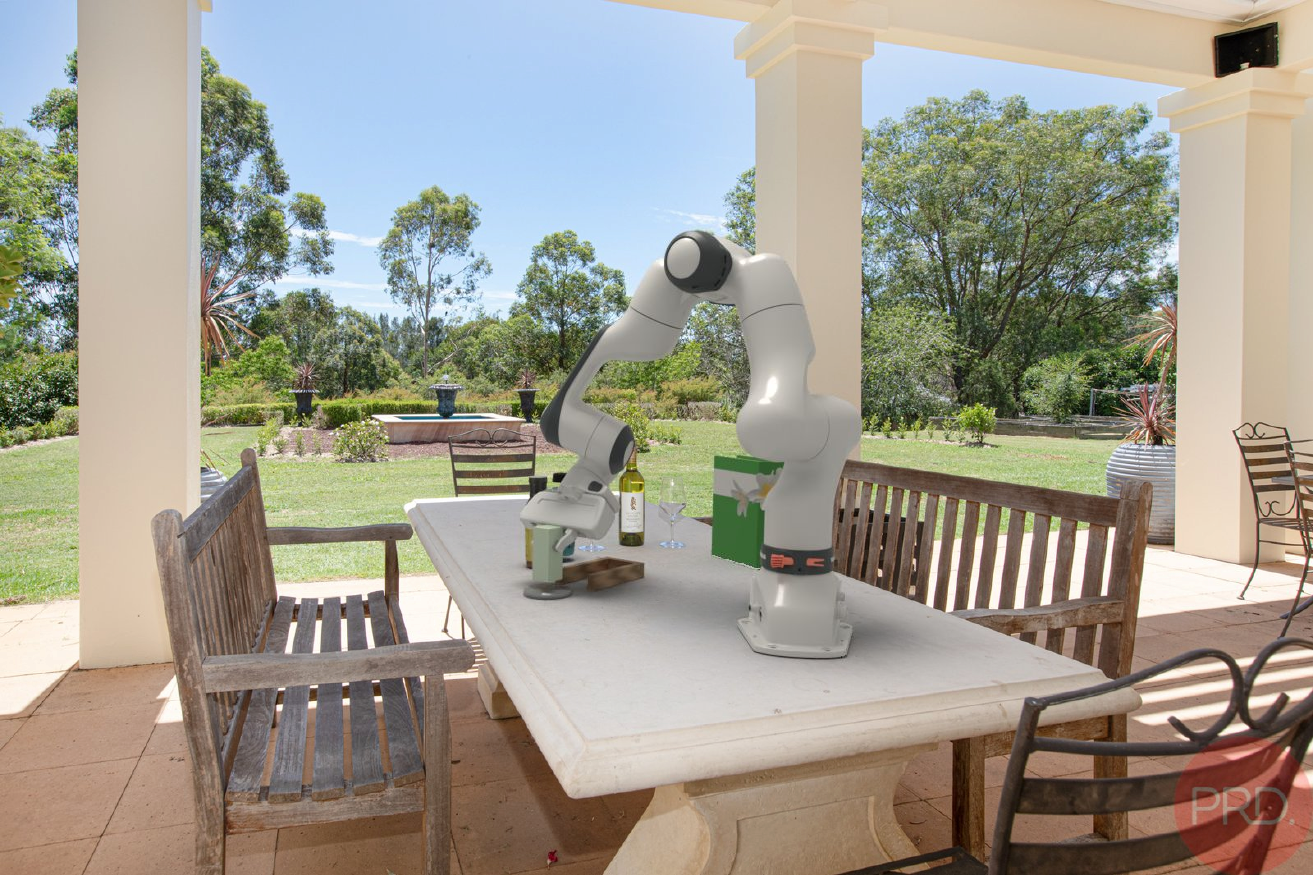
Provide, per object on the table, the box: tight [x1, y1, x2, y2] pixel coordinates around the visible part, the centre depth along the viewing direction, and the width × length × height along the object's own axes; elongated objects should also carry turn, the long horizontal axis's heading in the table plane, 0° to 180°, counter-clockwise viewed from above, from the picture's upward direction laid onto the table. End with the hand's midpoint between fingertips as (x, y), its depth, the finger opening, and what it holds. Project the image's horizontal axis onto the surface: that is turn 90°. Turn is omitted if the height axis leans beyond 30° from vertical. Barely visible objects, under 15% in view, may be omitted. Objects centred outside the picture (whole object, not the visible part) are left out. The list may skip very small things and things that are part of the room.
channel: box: [554, 556, 645, 592], centre depth 174 cm, size 16×10×3 cm, turn 144°
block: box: [531, 525, 564, 583], centre depth 161 cm, size 4×4×10 cm
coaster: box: [522, 583, 572, 601], centre depth 161 cm, size 9×9×1 cm
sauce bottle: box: [524, 475, 549, 569], centre depth 185 cm, size 6×6×20 cm
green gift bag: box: [711, 454, 785, 568], centre depth 197 cm, size 18×7×24 cm, turn 30°
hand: (545, 548), depth 160 cm, fingers closed on block, 4 cm apart
